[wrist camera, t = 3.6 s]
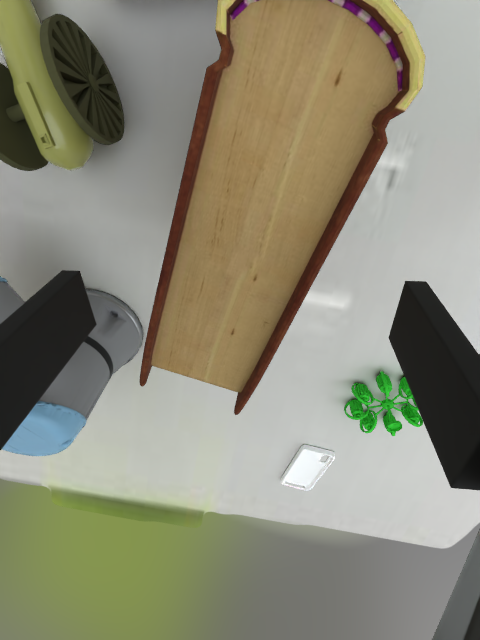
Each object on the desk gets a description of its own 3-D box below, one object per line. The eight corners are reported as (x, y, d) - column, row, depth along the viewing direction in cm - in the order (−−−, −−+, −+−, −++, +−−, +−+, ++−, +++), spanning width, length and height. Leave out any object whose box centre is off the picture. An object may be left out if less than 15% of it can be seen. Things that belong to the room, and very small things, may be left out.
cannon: (-84, -105, 32) (-233, -181, 23) (18, -169, 29) (-104, -286, 20) (63, 171, 45) (7, 195, 36) (143, 145, 42) (104, 163, 33)
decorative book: (267, 31, 35) (235, -88, 11) (337, 62, 36) (461, 19, 11) (208, 230, 48) (132, 385, 23) (262, 249, 49) (243, 419, 24)
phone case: (303, 443, 73) (280, 479, 81) (303, 449, 72) (279, 484, 80) (335, 451, 73) (309, 486, 82) (336, 457, 72) (309, 491, 81)
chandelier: (377, 352, 57) (388, 382, 52) (448, 386, 60) (465, 418, 54) (326, 404, 65) (330, 435, 60) (390, 432, 68) (400, 463, 62)
